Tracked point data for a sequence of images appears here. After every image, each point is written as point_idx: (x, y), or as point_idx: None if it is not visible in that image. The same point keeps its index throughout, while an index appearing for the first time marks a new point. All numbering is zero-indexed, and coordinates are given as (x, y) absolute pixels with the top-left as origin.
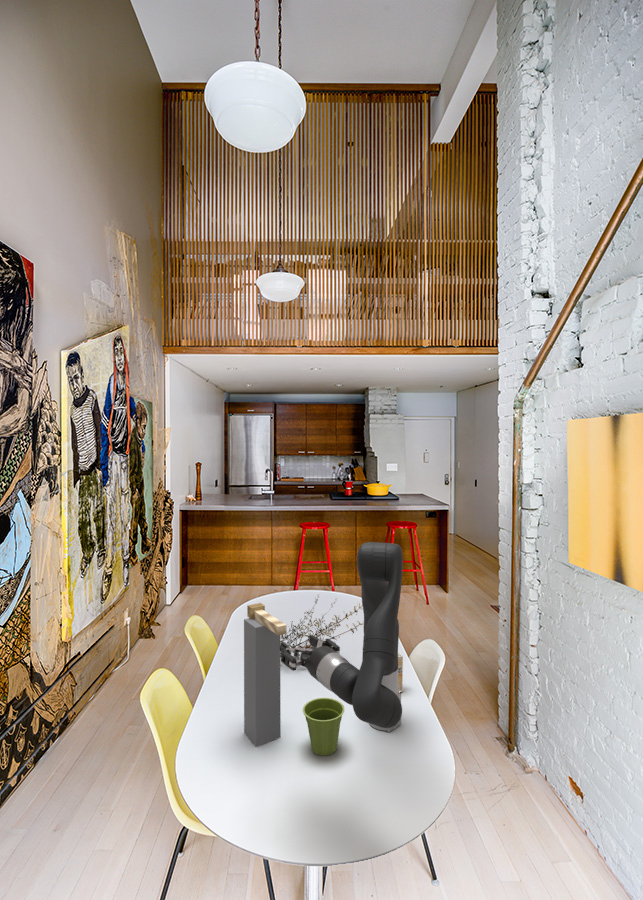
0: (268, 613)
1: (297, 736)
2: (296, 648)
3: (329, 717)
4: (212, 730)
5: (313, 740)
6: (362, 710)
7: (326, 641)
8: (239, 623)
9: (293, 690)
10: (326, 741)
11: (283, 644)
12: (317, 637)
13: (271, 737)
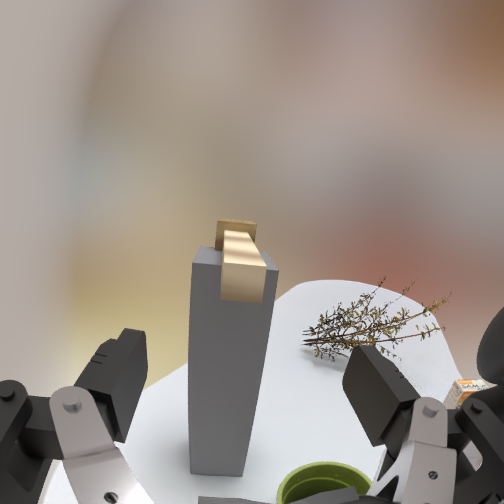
0: (250, 238)
1: (272, 486)
2: (84, 463)
3: None
4: (157, 410)
5: None
6: None
7: (467, 424)
8: (288, 294)
9: (310, 397)
10: None
11: (113, 346)
12: (370, 333)
13: (223, 473)
